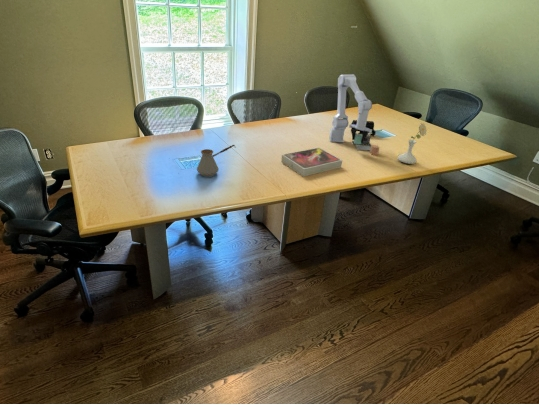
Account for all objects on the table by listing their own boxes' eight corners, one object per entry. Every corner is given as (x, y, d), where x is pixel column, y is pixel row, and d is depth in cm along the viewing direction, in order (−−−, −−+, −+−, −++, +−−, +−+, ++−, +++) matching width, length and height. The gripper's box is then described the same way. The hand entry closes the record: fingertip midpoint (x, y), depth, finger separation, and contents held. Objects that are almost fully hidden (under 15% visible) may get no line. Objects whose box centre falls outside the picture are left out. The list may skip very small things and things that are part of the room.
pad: (357, 150, 225) (357, 149, 225) (355, 145, 232) (355, 144, 232) (372, 151, 225) (372, 150, 225) (369, 146, 232) (369, 145, 232)
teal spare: (354, 143, 217) (356, 136, 214) (353, 141, 220) (355, 134, 218) (361, 144, 217) (362, 136, 214) (359, 142, 220) (361, 134, 218)
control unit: (353, 144, 234) (354, 135, 231) (351, 141, 238) (353, 133, 235) (370, 145, 234) (372, 136, 231) (368, 143, 238) (370, 134, 235)
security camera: (375, 137, 250) (378, 123, 245) (350, 135, 250) (353, 122, 245) (373, 133, 256) (376, 120, 251) (349, 132, 256) (351, 119, 251)
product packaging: (281, 162, 202) (281, 154, 200) (317, 154, 216) (318, 147, 213) (303, 177, 187) (304, 169, 184) (340, 168, 201) (342, 160, 198)
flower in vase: (404, 166, 207) (415, 126, 194) (393, 158, 216) (403, 120, 203) (422, 164, 211) (434, 125, 198) (410, 157, 220) (421, 119, 207)
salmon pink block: (371, 154, 220) (373, 147, 218) (370, 152, 224) (371, 145, 221) (377, 155, 220) (379, 147, 218) (376, 152, 224) (377, 145, 221)
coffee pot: (200, 179, 176) (198, 153, 168) (194, 170, 185) (193, 144, 177) (238, 174, 184) (239, 148, 177) (231, 165, 193) (231, 140, 186)
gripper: (375, 121, 210) (370, 142, 217) (354, 116, 217) (350, 136, 224) (371, 124, 205) (366, 145, 212) (349, 118, 212) (345, 139, 219)
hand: (357, 140), depth 218 cm, fingers closed on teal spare, 6 cm apart
